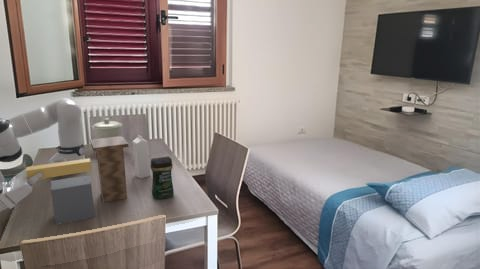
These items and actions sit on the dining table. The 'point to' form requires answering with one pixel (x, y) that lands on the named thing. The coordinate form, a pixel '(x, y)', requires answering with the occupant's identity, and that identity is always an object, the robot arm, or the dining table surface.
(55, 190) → the podium
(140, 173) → the milk
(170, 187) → the coffee jar
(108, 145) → the walnut stand
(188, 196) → the dining table surface
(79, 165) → the yellow bar
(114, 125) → the canister
